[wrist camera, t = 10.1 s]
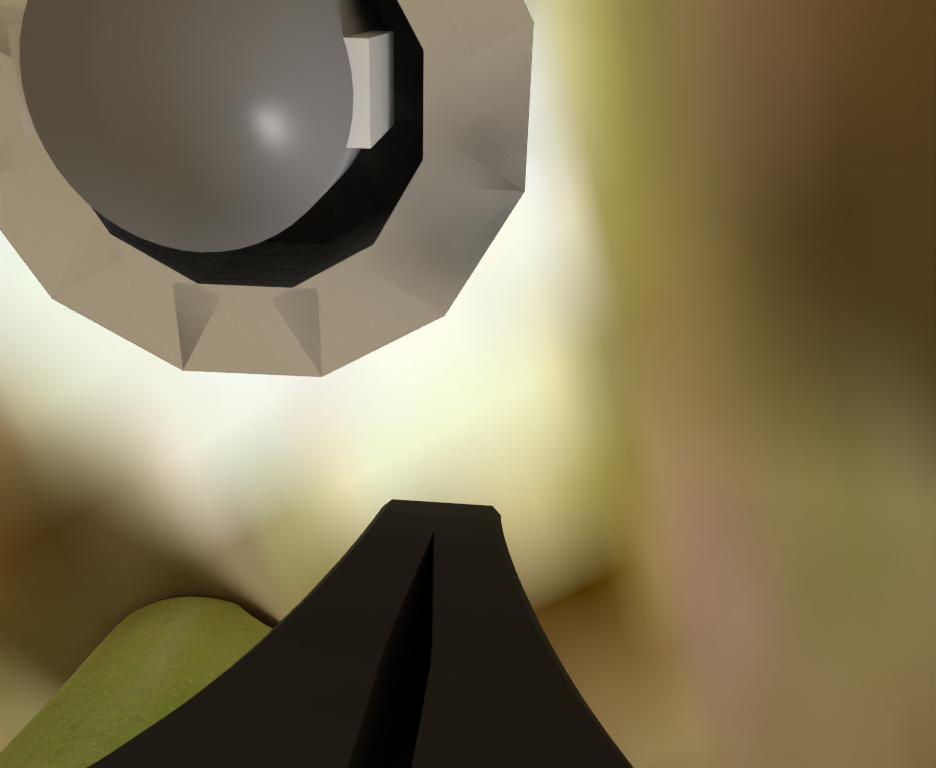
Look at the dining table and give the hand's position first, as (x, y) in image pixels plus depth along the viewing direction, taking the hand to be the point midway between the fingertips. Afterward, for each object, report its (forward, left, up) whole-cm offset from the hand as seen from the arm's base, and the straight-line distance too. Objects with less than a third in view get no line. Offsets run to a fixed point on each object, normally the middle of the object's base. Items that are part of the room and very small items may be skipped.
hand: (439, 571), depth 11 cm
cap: (+4, -5, -9) cm, 11 cm away
